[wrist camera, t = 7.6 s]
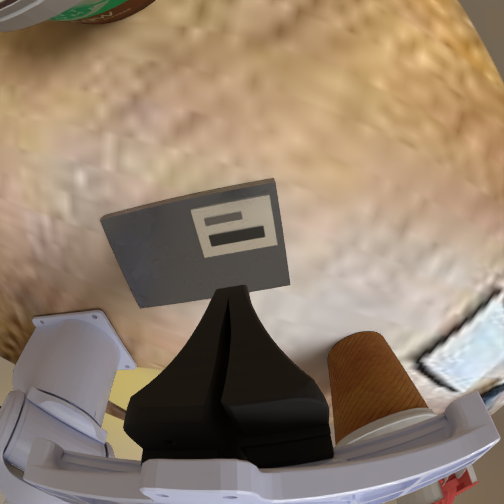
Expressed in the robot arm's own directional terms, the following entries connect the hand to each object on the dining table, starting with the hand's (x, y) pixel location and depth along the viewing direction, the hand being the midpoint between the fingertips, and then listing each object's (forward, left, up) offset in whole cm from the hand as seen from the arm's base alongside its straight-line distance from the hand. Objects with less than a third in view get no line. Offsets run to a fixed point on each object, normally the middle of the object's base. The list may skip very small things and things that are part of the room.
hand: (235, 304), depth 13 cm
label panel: (-3, -2, -8) cm, 9 cm away
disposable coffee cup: (+9, -16, -9) cm, 21 cm away
